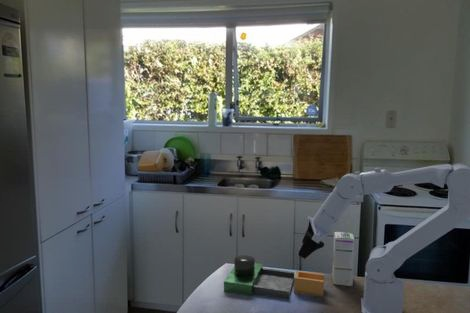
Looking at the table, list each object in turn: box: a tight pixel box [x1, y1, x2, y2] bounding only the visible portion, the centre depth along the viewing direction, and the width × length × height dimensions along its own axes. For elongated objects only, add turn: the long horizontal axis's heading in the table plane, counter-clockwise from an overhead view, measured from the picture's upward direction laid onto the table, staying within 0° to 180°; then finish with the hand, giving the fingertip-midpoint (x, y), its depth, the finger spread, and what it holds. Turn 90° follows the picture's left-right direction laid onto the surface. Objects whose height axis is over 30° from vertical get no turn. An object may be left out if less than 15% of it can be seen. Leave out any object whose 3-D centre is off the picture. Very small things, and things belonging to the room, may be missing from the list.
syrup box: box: [331, 231, 355, 287], centre depth 114 cm, size 6×6×14 cm
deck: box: [223, 255, 296, 300], centre depth 112 cm, size 18×15×7 cm
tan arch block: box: [293, 270, 325, 298], centre depth 108 cm, size 8×5×4 cm, turn 74°
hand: (303, 249), depth 106 cm, fingers open, 7 cm apart
